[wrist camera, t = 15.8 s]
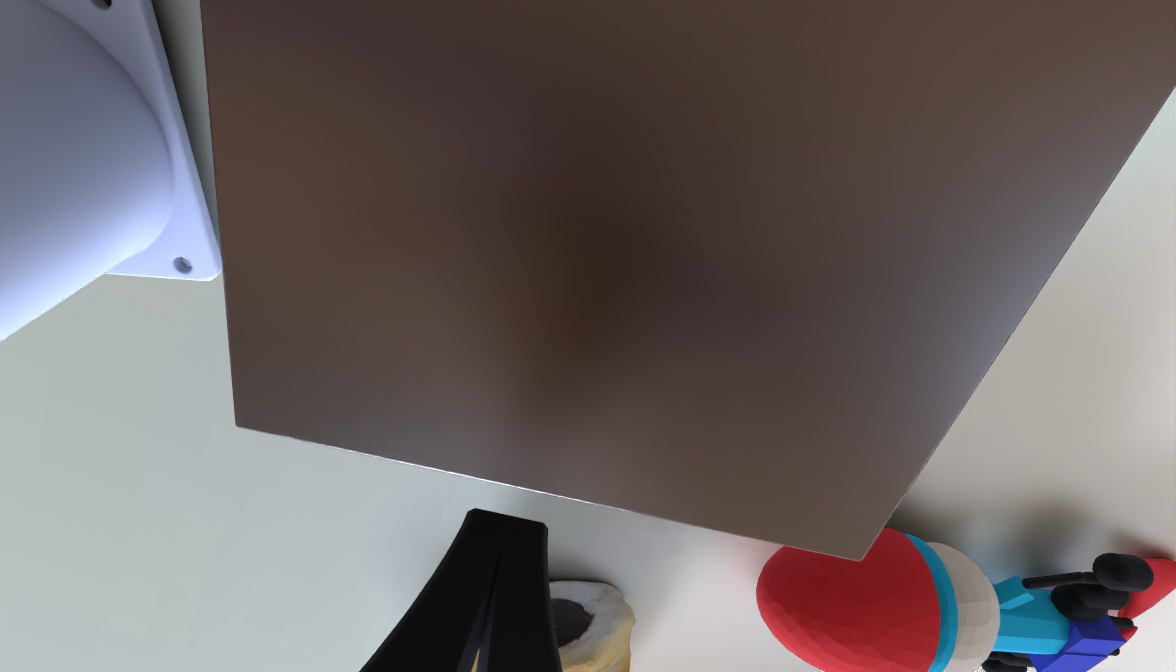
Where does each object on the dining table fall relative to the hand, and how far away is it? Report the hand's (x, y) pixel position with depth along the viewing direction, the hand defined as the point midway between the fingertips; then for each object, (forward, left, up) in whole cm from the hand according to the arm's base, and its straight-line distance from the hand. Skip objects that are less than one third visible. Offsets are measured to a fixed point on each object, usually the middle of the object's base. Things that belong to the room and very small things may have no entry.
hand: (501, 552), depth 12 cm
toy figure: (+14, -10, -10) cm, 20 cm away
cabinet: (+2, +7, -9) cm, 12 cm away
